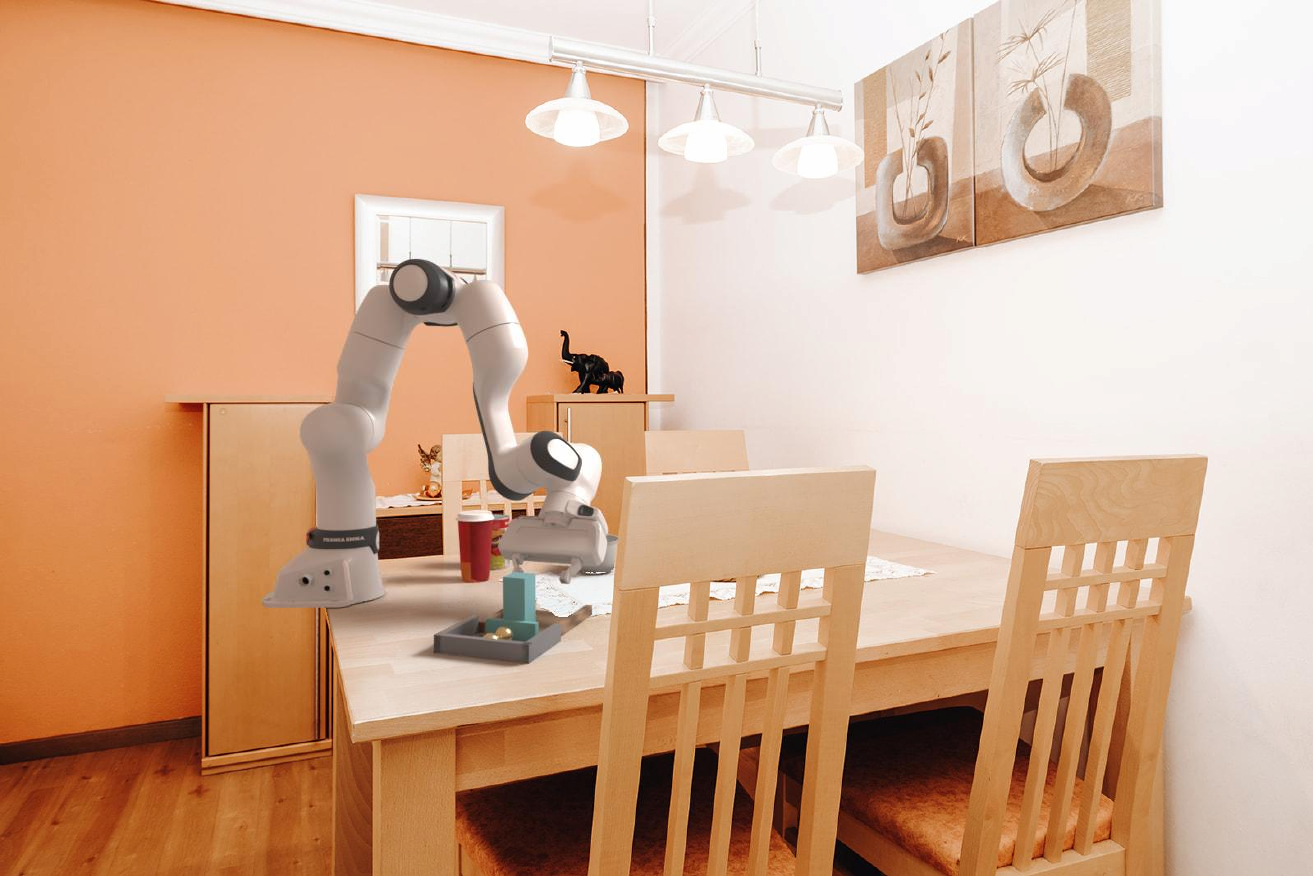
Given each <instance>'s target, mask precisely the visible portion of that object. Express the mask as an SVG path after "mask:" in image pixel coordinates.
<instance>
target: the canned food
mask: <svg viewBox="0 0 1313 876" xmlns="http://www.w3.org/2000/svg"><path fill="white" fill-rule="evenodd" d="M492 515H493V517H494V519H493V527H492V545H491V563H490V571H498V570H505V569H507V568H510V565H511V564H510V563H511V560H506V559H504V557H503V556H502V554H501V553H500V551H499V548H498V544H499V542H500V540H501V538H502V536H503V534H504V533H505V531H506V529H507V528H508V526H509V524H510V522H511V519H510V516H509V515H507V514H492Z"/></svg>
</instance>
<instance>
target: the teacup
mask: <svg viewBox="0 0 1313 876" xmlns="http://www.w3.org/2000/svg"><path fill="white" fill-rule="evenodd" d="M618 537H619V535H616V534H610V533H608V534H607V535H606V539H607V549H606V553H605V557H604V560H603V562H602V563H601V564H600V565H598V566H585V565H582V567H581V570H580V571H582V572H583V573H585V572H590V573H591V572H593V573H596V572H608V573H611V572H612V571H613V570H614V569H615V568H614V562H615V554H616V545H617V542H618ZM611 570H612V571H611ZM610 571H611V572H610Z"/></svg>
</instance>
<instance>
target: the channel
mask: <svg viewBox="0 0 1313 876" xmlns="http://www.w3.org/2000/svg"><path fill="white" fill-rule="evenodd" d="M549 611H550V610H543V609H542V610H541V609H536V622H539V633H540V632H542V631H543V630H545V629H546V628H548V627H549V626H551V625H552V624H554V623H555V624H561V637H563V636H564V635H566V634H567V633H569V632H570V631H572V630H573V629H574V628H577V626H578V625H580V624H582V623H583V622H585V621H586V620H587V619H588V618H590V617H592V616H593V605H592V604H585V605H584V606H582V607H580V608H579V609H576V610H575V611H574V612H572V613H573V614H571V615H569V616H568V617H558V616H555V615H554V614H553V613H552V612H549ZM591 615H592V616H591ZM489 617H492V618H502V619H503V608H502V609H500V610H498V611H497V612H495V613H492V614H491V615H488V616H486V617H485V618H482V619H481V620H479V633H484V634H486V619H488V618H489Z"/></svg>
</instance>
